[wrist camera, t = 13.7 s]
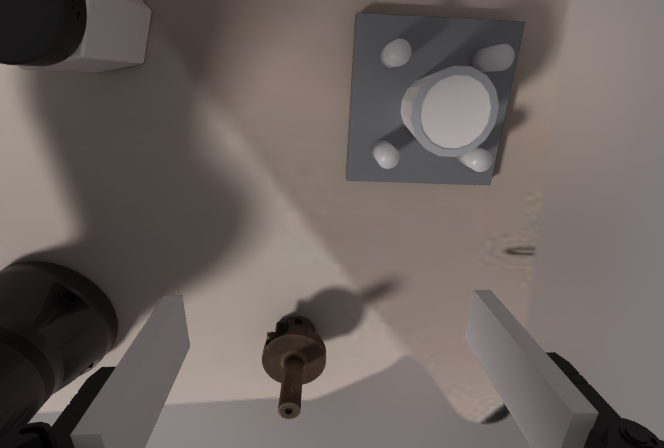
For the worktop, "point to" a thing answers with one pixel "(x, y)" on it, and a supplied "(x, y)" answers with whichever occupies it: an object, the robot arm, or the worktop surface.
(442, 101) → the shot glass
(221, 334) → the worktop surface
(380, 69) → the pin plate
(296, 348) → the industrial component
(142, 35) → the jar
